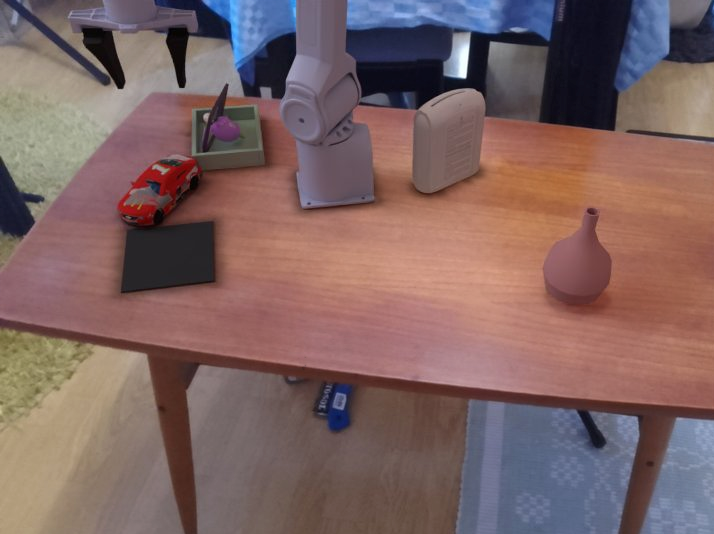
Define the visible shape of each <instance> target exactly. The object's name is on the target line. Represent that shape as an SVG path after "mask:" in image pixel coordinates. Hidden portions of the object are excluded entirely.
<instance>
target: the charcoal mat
mask: <svg viewBox="0 0 714 534" xmlns="http://www.w3.org/2000/svg"><path fill="white" fill-rule="evenodd" d="M214 243H215V242H214V221H213V220H210V221H209V220H208V221H200V222H190V223H178V224H167V225H160V226H158V225H157V226H148V227H139V228H130V229H126V238H125V245H124V246H125V247H124V255H123V265H122V276H121V283H120V293H121V294H122V293H130V292H131V293H133V292H139V291H148V290H157V289H166V288H171V287H172V288H173V287H182V286H190V285H199V284H206V283H215V251H214V249H215V246H214Z"/></svg>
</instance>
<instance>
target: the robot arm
mask: <svg viewBox="0 0 714 534" xmlns="http://www.w3.org/2000/svg"><path fill="white" fill-rule="evenodd" d="M348 1H349V0H295V41H296V43H295V45H296V46H295V47H296V49H295V51H296V53H295V54H296V55H295V57H294V60H293V62H292V64H291V66H290V69H289V71H288V73H287V77H286V79H285V93H284V95H283V97H282V99H281V100H280V103H279V108H278V109H279V110H278V113H279V117H280V120H281V123H282V124H283V126H284V128H285V130H286V131H287V132H288V134H290V135H291V136H292V138H293V140H295V146H296V147H295V148H296V154H297V163H298V169H299V170H298V171H296V172H295V175H296V181H297V188H298V194H299V200H300V206H301V208H302V209H303V210H307V209H316V208H317V209H318V208H325V207H326V208H327V207H337V206H344V205H345V206H347V205H356V204H366V203H373V202H375V201H376V200H375V199H376V197H375V188H374V186H375V185H374V175H375V173H374V156H373V155H374V154H373V145H372V144H373V143H372V139H371V132H370V129H369V125H368V123H363V122H362V123H360V122H354V109H355V108H357V107H358V106H359V104H360V102H361V100H362V94H363V93H362V86H361V83H360V81H359V79H358V76H357V60H356V59H355V58H354V57H353V56H352V55H351V54H349V53H348V52H346V47H347V25H348V24H347V23H348ZM102 3H103V6H104V7H96V8H91V9H90V8H89V9H79V10H70V12H69V14H68V16H67V20H68V23H69V26H70V29H71V31H72V33H73V34H83V35H82V37H83V38H82V44H83V46H84V48H85V49H86V50H88V52H89V53H91V55H93V56H94V58H96V60H97V61H98V62H99V63H100V64H101V65H102V66H103V68H104V69H105V71H106V72H107V73H108V74H109V76H110V78H111V80H113V83H114V85H115V86H116V88H117V90H124V89H125V86H126V83H127V80H126V76H125V72H124V69H123V66H122V63H121V62H120V58H119V55H118V52H117V47H116V43H115V38H114V34H113V32H115V31H117V32H118V31H119V33H120V34H122V35H123V34H124V35H125V34H127V35H128V34H129V35H131V34H132V35H133V34H138V33H139V31H140V32H141V31H143V32H144V31H145V32H146V31H168V32H167V34H166V38H165V44H166V47H167V49H168V52H169V55H170V58H171V60H172V64H173V68H174V72H175V78H176V83H177V86H178V88H179V89H186V85H187V76H186V74H187V73H186V60H187V50H188V45H189V38H190V34H191V33H195V34H196V33H198V29H199V22H198V18H197V12H196V10H190V9H188V10H186V9H178V8H172V7H166V6H160V5H156V2H155V0H102Z"/></svg>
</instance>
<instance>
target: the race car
mask: <svg viewBox="0 0 714 534" xmlns="http://www.w3.org/2000/svg"><path fill="white" fill-rule="evenodd" d="M202 178H203V171H201V167H200V165H199V164H198V162H197V161H196V160H195V159H194V158H192V156H189V155H184V154H181V153H180V154H179V153H173V154H170V155H167V156H165V157H162V158H160V159H159V160H156V161H155V162H154V163H152V164H151V165H150V166H148V167H147V168H146V169H145V170H143V172H142V173H141V174H140V175H139V176H138V177H137V179H136V180H135V182H134V181H133V180H131V181H129V182H130V185H132V186H131V187H130V189H129V190H128V191H127V192H126V193H125V194H124V195H123V197H122V198H121V199H120V200H119V201H118V203H117V208H116V209H117V213H118V215H119V217H120V220H121V221H122V222H123V223H125V224H127V225H129V226H133V227H147V226H148V227H149V226H152V225H160V224H162V222H163V221H164V217H165V216H166V215H168V213H170V212H171V211H172V210H173V209H174V208H175V207H177V205H178V204H179V203H180V202H181V201H182V200H183V199H184V198H186V197H187V195H189V194H190V193H191V191H195V190H197V188H198V187H199V182H201V180H202Z"/></svg>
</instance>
